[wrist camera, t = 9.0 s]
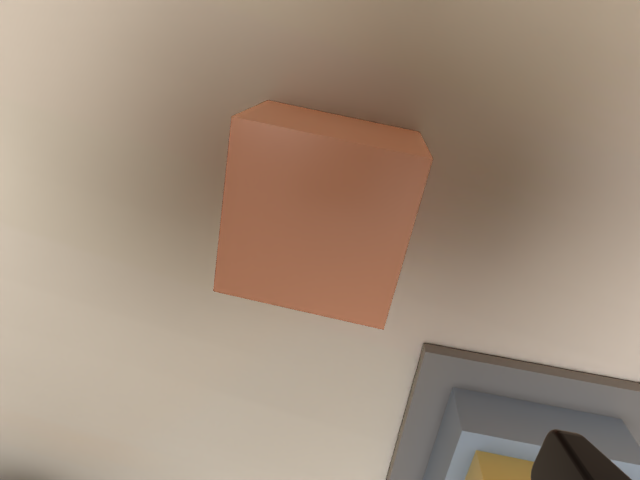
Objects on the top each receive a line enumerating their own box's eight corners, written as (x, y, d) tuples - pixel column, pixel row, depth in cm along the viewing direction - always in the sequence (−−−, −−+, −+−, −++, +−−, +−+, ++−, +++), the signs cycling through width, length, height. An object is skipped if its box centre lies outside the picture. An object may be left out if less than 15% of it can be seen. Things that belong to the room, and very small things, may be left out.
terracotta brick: (250, 237, 19) (213, 291, 14) (268, 99, 16) (231, 116, 12) (382, 266, 18) (383, 329, 14) (419, 131, 16) (433, 159, 12)
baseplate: (379, 502, 23) (379, 563, 21) (424, 343, 19) (431, 392, 17) (578, 543, 23) (605, 611, 20) (665, 388, 19) (715, 446, 16)
